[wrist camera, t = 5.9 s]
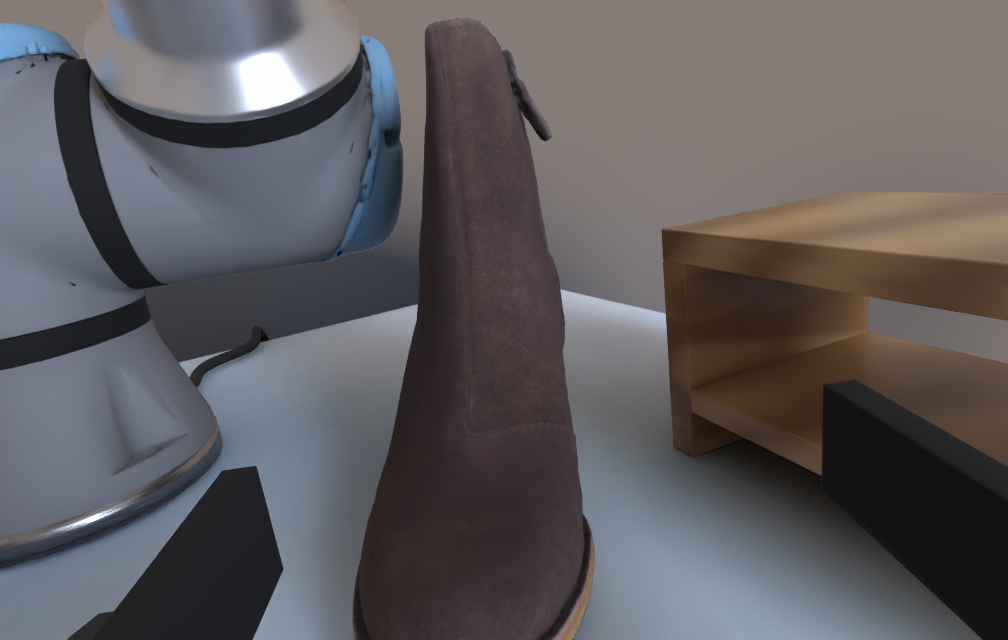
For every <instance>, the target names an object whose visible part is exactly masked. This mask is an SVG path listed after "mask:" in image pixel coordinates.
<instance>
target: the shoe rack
mask: <svg viewBox="0 0 1008 640" xmlns="http://www.w3.org/2000/svg"><path fill="white" fill-rule="evenodd" d="M662 244H663V245H662V246H663V260H664V262H663V269H664V288H665V305H666V324H667V342H668V360H669V378H670V395H671V413H672V431H673V445H674V446H675V447H677V448H678V449H680V450H682V451H683V452H685V453H687V454H688V455H690V456H692V457H695V456H698V455H700V454H703V453H706V452H708V451H711V450H714V449H716V448H719V447H722V446H724V445H727V444H730V443H732V442H735V441H738V440H740V439H743V438H746V439H748V440H750V441H752V442H754V443H756V444H758V445H760V446H762V447H764V448H766V449H768V450H770V451H772V452H774V453H776V454H778V455H780V456H782V457H784V458H786V459H788V460H790V461H792V462H794V463H796V464H798V465H800V466H802V467H804V468H806V469H808V470H811V471H813V472H815V473H817V474H819V475H821V476H822V427H823V384H829V383H836V382H843V381H850V380H857V381H859V382H860V383H862V384H864V385H866V386H867V387H869V388H871V389H873V390H874V391H876V392H878V393H880V394H881V395H883V396H885V397H887V398H888V399H890V400H892V401H894V402H895V403H897V404H899V405H901V406H902V407H904V408H906V409H908V410H909V411H911V412H913V413H915V414H916V415H918V416H920V417H922V418H923V419H925V420H927V421H929V422H930V423H932V424H934V425H935V426H937V427H939V428H941V429H942V430H944V431H946V432H948V433H949V434H951V435H953V436H955V437H956V438H958V439H960V440H962V441H963V442H965V443H967V444H969V445H970V446H972V447H974V448H976V449H977V450H979V451H981V452H983V453H984V454H986V455H988V456H990V457H991V458H993V459H995V460H997V461H998V462H1000V463H1002V464H1004V465H1005V466H1007V467H1008V364H1007V363H1003V362H998V361H994V360H990V359H986V358H981V357H977V356H973V355H968V354H964V353H959V352H955V351H951V350H946V349H942V348H938V347H933V346H929V345H924V344H920V343H916V342H911V341H907V340H903V339H898V338H894V337H890V336H885V335H881V334H877V333H872V332H868V307H869V297H875V298H880V299H886V300H892V301H898V302H903V303H909V304H915V305H921V306H927V307H932V308H938V309H944V310H949V311H955V312H961V313H967V314H973V315H978V316H984V317H990V318H995V319H1001V320H1007V321H1008V193H939V192H843V193H838V194H833V195H828V196H823V197H818V198H813V199H808V200H803V201H798V202H793V203H788V204H783V205H778V206H774V207H768V208H764V209H759V210H754V211H749V212H744V213H739V214H734V215H729V216H725V217H719V218H714V219H709V220H704V221H700V222H695V223H689V224H685V225H680V226H675V227H670V228H665V229H663V230H662Z"/></svg>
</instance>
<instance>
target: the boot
mask: <svg viewBox="0 0 1008 640" xmlns="http://www.w3.org/2000/svg"><path fill="white" fill-rule="evenodd" d="M425 60H426V61H425V62H426V124H425V145H424V176H423V200H422V203H423V204H422V221H421V229H420V244H419V245H420V246H419V298H418V311H417V321H416V325H415V329H414V333H413V337H412V342H411V346H410V350H409V355H408V360H407V364H406V369H405V374H404V378H403V383H402V388H401V393H400V399H399V404H398V410H397V415H396V420H395V425H394V430H393V435H392V439H391V443H390V447H389V452H388V456H387V459H386V462H385V465H384V468H383V471H382V474H381V477H380V480H379V484H378V487H377V492H376V497H375V501H374V504H373V508H372V511H371V514H370V517H369V520H368V524H367V528H366V533H365V538H364V542H363V547H362V554H361V560H360V564H359V567H358V572H357V577H356V583H355V590H354V599H353V629H354V637H355V640H573V638H574V636H575V634H576V632H577V630H578V628H579V626H580V623H581V621H582V618H583V615H584V612H585V610H586V607H587V602H588V598H589V594H590V590H591V585H592V579H593V573H594V544H593V539H592V533H591V529H590V527H589V524H588V522H587V520H586V518H585V516H584V514H583V507H582V492H581V486H580V480H579V474H578V458H577V448H576V438H575V435H574V433H573V426H572V420H571V413H570V407H569V401H568V393H567V386H566V380H565V368H564V360H563V346H564V338H565V320H564V313H563V307H562V299H561V292H560V282H559V277H558V273H557V270H556V267H555V263H554V260H553V258H552V257H551V255H550V253H549V250H548V245H547V240H546V234H545V228H544V223H543V219H542V213H541V208H540V202H539V195H538V186H537V181H536V176H535V169H534V162H533V158H532V154H531V148H530V144H529V140H528V137H527V134H526V128H525V123H524V119H523V116H522V112H523V114H524V116H525V118H527V120H528V121H529V122H530V124H531V125H532V127H533V128H534V130H535V131H536V133H537V134H538V136H539V137H540V138H541V139H542V140H544V141H547V140H549V139H550V138H551V137H552V135H551V132H550V130H549V127H548V125H547V123H546V122H545V120H544V118H543V117H542V115H541V113H540V112H539V110H538V108H537V106H536V104H535V103H534V101H533V99H532V98H531V96H530V95H529V93H528V91H527V89H526V86H525V84H524V83H523V82H522V81H521V80H519V78H518V77H517V73H516V66H515V64H514V60H513V57H512V54H511V53H510V52H509V51H508V50H505V51H502V50H501V47H500V45H499V44H498V42H497V40H496V38H495V37H493V36H492V34H491V33H490V32H489V30H488V29H487V28H486V27H485V26H484V25H483V24H481V21H475V20H471V19H467V18H466V19H460V18H457V19H453V20H447V21H440V22H436V23H433V24H430V25H428V27H427V28H426V30H425Z"/></svg>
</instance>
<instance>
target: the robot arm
mask: <svg viewBox="0 0 1008 640" xmlns="http://www.w3.org/2000/svg"><path fill="white" fill-rule="evenodd" d="M84 52H85V57H86V59H80V57H79V55H78V53H77V52H76V51H75V50H74V49H72V47H71V46H70V44H69V43H68V41H67V40H66V39H64V38H63V37H62V36H60V35H59V34H57V33H55V32H53V31H50V30H47V29H44V28H40V27H35V26H29V25H22V24H13V23H0V567H2V566H7V565H11V564H15V563H19V562H23V561H27V560H30V559H34V558H37V557H41V556H44V555H47V554H50V553H53V552H56V551H59V550H62V549H65V548H68V547H71V546H73V545H76V544H79V543H81V542H84V541H87V540H89V539H92V538H94V537H96V536H99V535H101V534H104V533H106V532H108V531H110V530H113V529H115V528H117V527H119V526H121V525H124V524H126V523H128V522H130V521H132V520H134V519H136V518H138V517H140V516H141V515H143V514H145V513H147V512H149V511H151V510H153V509H154V508H156V507H158V506H160V505H161V504H163V503H164V502H166V501H168V500H169V499H171V498H172V497H174V496H175V495H177V494H179V493H180V492H181V491H183V490H184V489H186V488H187V487H188V486H190V485H191V484H192V483H193V482H195V481H196V480H197V479H198V478H199V477H201V476H202V475H203V474H204V473H205V472H206V471H207V470H208V469H209V468H210V467H211V465H212V464H213V463H214V462H215V460H216V459H217V457H218V456H219V454H220V452H221V449H222V437H221V434H220V430H219V427H218V423H217V420H216V417H215V416H214V414H213V411H212V409H211V407H210V406H209V404H208V403H207V401H206V400H205V399H204V397H203V396H202V395H201V393H200V392H199V390H198V389H197V387H198V386H199V384H200V382H201V379H202V377H203V375H204V374H205V373H206V372H208V371H209V370H211V369H213V368H215V367H217V366H219V365H221V364H223V363H226V362H228V361H231V360H233V359H236V358H238V357H241V356H243V355H245V354H247V353H249V352H251V351H253V350H254V349H255V348H256V347H257V346H258V345H259V343H260V342H265V341H269V338H268V337H267V335H266V333H265V332H264V331H263V329H262V328H261V327H259V326H255V327H254V328H253V329H252V338H251V341H249V342H248V343H246V344H244V345H243V346H240V347H238V348H236V349H233V350H230V351H228V352H225V353H223V354H220V355H218V356H215V357H213V358H211V359H209V360H207V361H205V362H203V363H201V364H200V365H199V366H198V367H197V368H196V369H195V370H194V371H193V372H192V374H191V376H190V378H189V377H188V375H187V374H186V373H185V371H184V370H183V369H182V367H181V366H180V364H179V363H178V362H177V360H176V359H175V358H174V356H173V355H172V354H171V352H170V351H169V349H168V348H167V347H166V345H165V344H164V342H163V341H162V340H161V338H160V337H159V335H158V333H157V331H156V330H155V327H154V324H153V321H152V318H151V314H150V311H149V308H148V305H147V301H146V298H145V293H144V288H148V287H154V286H161V285H168V284H174V283H180V282H187V281H193V280H200V279H207V278H214V277H221V276H227V275H234V274H240V273H247V272H254V271H261V270H268V269H275V268H281V267H288V266H294V265H301V264H308V263H315V262H329V261H332V260H334V259H336V258H337V257H339V256H343V255H347V254H352V253H356V252H360V251H365V250H369V249H372V248H375V247H377V246H379V245H381V244H382V243H383V242H385V240H386V239H387V238H388V237H389V236H390V235H391V233H392V231H393V230H394V227H395V225H396V223H397V219H398V216H399V211H400V205H401V198H402V185H403V149H402V145H401V142H400V139H399V137H400V130H401V118H400V117H401V116H400V105H399V99H398V92H397V86H396V81H395V76H394V72H393V69H392V66H391V63H390V60H389V57H388V54H387V52H386V50H385V48H384V47H383V46H382V44H381V43H380V42H379V41H378V40H376V39H374V38H371V37H366V36H364V35H360V30H359V23H358V21H357V18H356V15H355V13H354V12H353V10H352V9H351V7H350V5H349V4H348V3H347V2H346V1H345V0H102V4H101V5H100V7H99V8H98V10H97V11H96V13H95V15H94V16H93V18H92V19H91V21H90V23H89V25H88V28H87V31H86V34H85V39H84ZM821 489H822V490H823V491H824V492H825V493H826V494H827V495H828V496H829V497H830V498H832V499H833V500H834V501H835V502H836V503H837V504H838V505H839V506H840V507H841V508H842V509H843V510H844V511H845V512H847V513H848V514H849V515H850V516H851V517H852V518H853V519H854V520H855V521H856V522H857V523H858V524H859V525H860V526H862V527H863V528H864V529H865V530H866V531H867V532H868V533H869V534H870V535H871V536H872V537H873V538H874V539H876V540H877V541H878V542H879V543H880V544H881V545H882V546H883V547H884V548H885V549H886V550H887V551H888V552H889V553H891V554H892V555H893V556H894V557H895V558H896V559H897V560H898V561H899V562H900V563H901V564H902V565H903V566H904V567H906V568H907V569H908V570H909V571H910V572H911V573H912V574H913V575H914V576H915V577H916V578H917V579H918V580H919V581H921V582H922V583H923V584H924V585H925V586H926V587H927V588H928V589H929V590H930V591H931V592H932V593H933V594H935V595H936V596H937V597H938V598H939V599H940V600H941V601H942V602H943V603H944V604H945V605H946V606H947V607H948V608H950V609H951V610H952V611H953V612H954V613H955V614H956V615H957V616H958V617H959V618H960V619H961V620H962V621H963V622H965V623H966V624H967V625H968V626H969V627H970V628H971V629H972V630H973V631H974V632H975V633H976V634H977V635H978V636H980V637H981V638H982V639H983V640H1008V467H1007V466H1005V465H1004V464H1002V463H1000V462H998V461H997V460H995V459H993V458H991V457H990V456H988V455H986V454H984V453H983V452H981V451H979V450H977V449H976V448H974V447H972V446H970V445H969V444H967V443H965V442H963V441H962V440H960V439H958V438H956V437H955V436H953V435H951V434H949V433H948V432H946V431H944V430H942V429H941V428H939V427H937V426H935V425H934V424H932V423H930V422H929V421H927V420H925V419H923V418H922V417H920V416H918V415H916V414H915V413H913V412H911V411H909V410H908V409H906V408H904V407H902V406H901V405H899V404H897V403H895V402H894V401H892V400H890V399H888V398H887V397H885V396H883V395H881V394H880V393H878V392H876V391H874V390H873V389H871V388H869V387H867V386H866V385H864V384H862V383H860V382H859V381H857V380H850V381H843V382H836V383H829V384H823V427H822V486H821ZM282 571H283V565H282V562H281V558H280V554H279V550H278V547H277V543H276V539H275V535H274V531H273V528H272V524H271V520H270V516H269V512H268V509H267V505H266V501H265V497H264V493H263V490H262V486H261V482H260V478H259V474H258V471H257V467H256V466H252V467H245V468H238V469H231V470H224V471H222V472H221V473H220V474H219V476H218V477H217V478H216V480H215V481H214V482H213V484H212V485H211V486H210V487H209V489H208V490H207V491H206V493H205V494H204V495H203V497H202V498H201V499H200V500H199V502H198V503H197V504H196V506H195V507H194V508H193V510H192V511H191V512H190V513H189V515H188V516H187V517H186V519H185V520H184V521H183V523H182V524H181V525H180V526H179V528H178V529H177V530H176V532H175V533H174V534H173V536H172V537H171V538H170V539H169V541H168V542H167V543H166V545H165V546H164V547H163V549H162V550H161V551H160V552H159V554H158V555H157V556H156V558H155V559H154V560H153V562H152V563H151V564H150V565H149V567H148V568H147V569H146V571H145V572H144V573H143V575H142V576H141V577H140V578H139V580H138V581H137V582H136V584H135V585H134V586H133V588H132V589H131V590H130V591H129V593H128V594H127V595H126V597H125V598H124V599H123V601H122V602H121V603H120V604H119V606H118V607H117V608H116V610H115V611H114V612H107V613H101V614H98V615H97V616H95V617H94V618H93V619H92V620H90V621H89V622H88V623H87V624H85V625H84V626H83V627H82V628H80V629H79V630H78V631H77V632H75V633H74V634H73V635H72V636H70V637H69V638H68V639H67V640H253V638H254V635H255V633H256V631H257V628H258V626H259V624H260V622H261V619H262V617H263V615H264V612H265V610H266V608H267V606H268V603H269V601H270V599H271V596H272V594H273V592H274V590H275V587H276V585H277V583H278V580H279V578H280V576H281V574H282Z"/></svg>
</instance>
